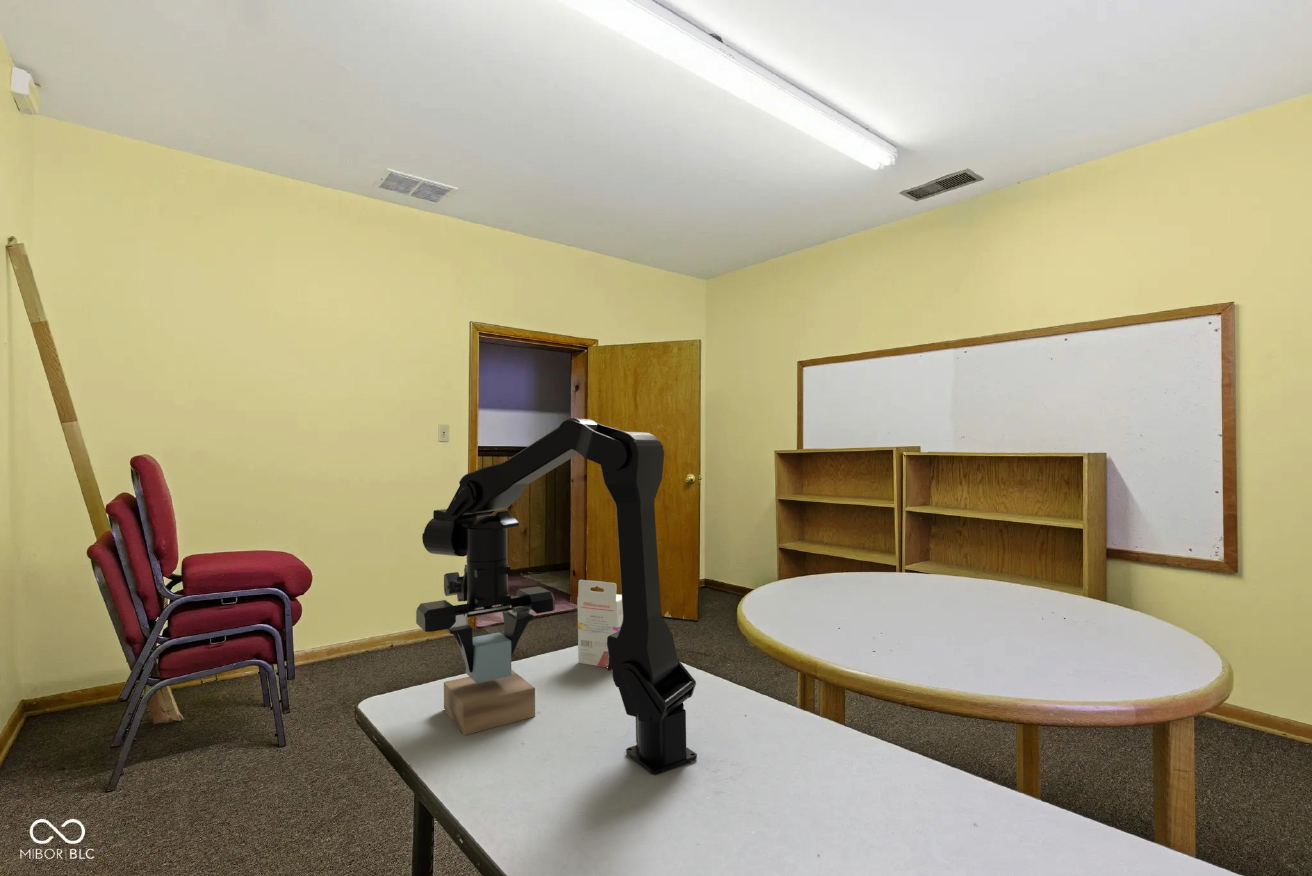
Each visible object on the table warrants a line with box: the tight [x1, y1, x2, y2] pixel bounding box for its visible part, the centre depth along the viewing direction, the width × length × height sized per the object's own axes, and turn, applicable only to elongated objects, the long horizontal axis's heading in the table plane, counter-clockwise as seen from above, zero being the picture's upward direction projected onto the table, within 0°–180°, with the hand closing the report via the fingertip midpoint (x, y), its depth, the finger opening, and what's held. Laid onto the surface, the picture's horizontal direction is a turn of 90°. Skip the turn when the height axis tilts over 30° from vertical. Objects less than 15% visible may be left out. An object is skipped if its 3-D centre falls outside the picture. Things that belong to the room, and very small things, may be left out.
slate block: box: [465, 632, 512, 684], centre depth 90 cm, size 5×5×5 cm
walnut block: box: [443, 668, 536, 736], centre depth 90 cm, size 10×10×4 cm
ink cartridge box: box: [576, 579, 623, 668], centre depth 111 cm, size 9×5×15 cm, turn 62°
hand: (488, 667), depth 90 cm, fingers closed on slate block, 5 cm apart
